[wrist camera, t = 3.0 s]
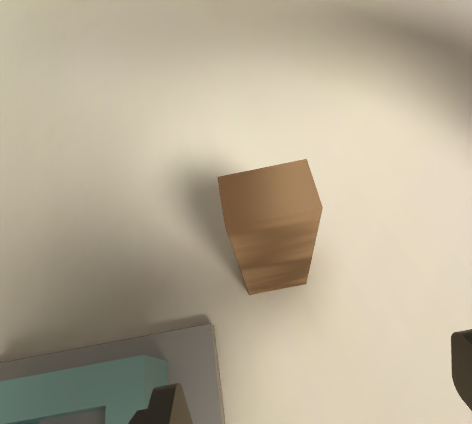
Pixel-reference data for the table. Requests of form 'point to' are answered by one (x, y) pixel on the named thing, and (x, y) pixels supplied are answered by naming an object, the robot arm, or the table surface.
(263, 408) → the table surface
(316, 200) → the block
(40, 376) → the teal and grey socket
